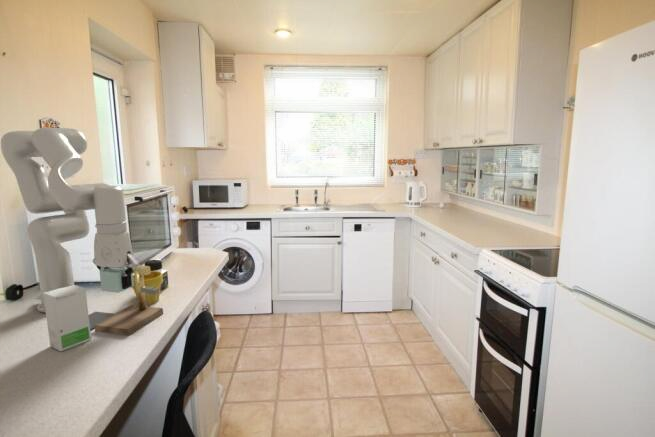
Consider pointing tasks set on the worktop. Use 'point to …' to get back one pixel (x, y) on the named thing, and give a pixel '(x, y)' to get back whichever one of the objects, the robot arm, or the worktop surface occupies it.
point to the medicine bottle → (157, 266)
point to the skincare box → (67, 317)
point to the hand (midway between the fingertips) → (117, 286)
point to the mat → (97, 318)
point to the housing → (128, 320)
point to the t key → (140, 286)
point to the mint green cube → (112, 280)
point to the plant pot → (151, 285)
